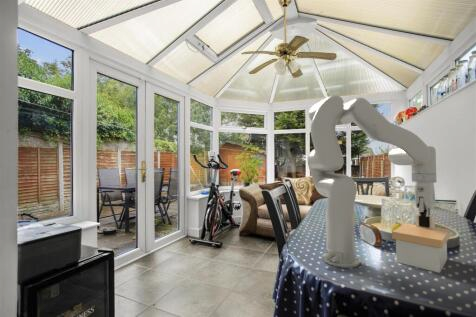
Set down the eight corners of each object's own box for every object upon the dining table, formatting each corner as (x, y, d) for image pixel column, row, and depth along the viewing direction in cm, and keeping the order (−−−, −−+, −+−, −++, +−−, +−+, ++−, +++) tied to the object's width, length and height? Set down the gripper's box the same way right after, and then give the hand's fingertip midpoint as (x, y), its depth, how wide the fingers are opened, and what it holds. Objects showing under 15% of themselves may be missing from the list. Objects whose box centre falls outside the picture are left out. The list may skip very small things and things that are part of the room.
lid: (442, 248, 76) (441, 224, 76) (392, 238, 86) (391, 217, 86) (450, 236, 88) (449, 216, 88) (405, 229, 98) (404, 211, 98)
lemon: (404, 239, 111) (403, 222, 111) (408, 243, 105) (407, 225, 105) (390, 238, 112) (390, 221, 113) (393, 242, 107) (393, 224, 107)
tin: (383, 249, 98) (382, 228, 99) (375, 249, 98) (375, 228, 99) (364, 238, 113) (364, 220, 114) (357, 238, 114) (357, 220, 114)
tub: (439, 272, 77) (439, 247, 77) (396, 261, 86) (395, 239, 86) (447, 259, 87) (446, 237, 88) (407, 250, 96) (407, 231, 97)
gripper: (432, 179, 84) (433, 232, 83) (439, 177, 94) (441, 224, 94) (406, 178, 89) (407, 228, 89) (416, 177, 100) (417, 221, 99)
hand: (424, 226), depth 91 cm, fingers closed
